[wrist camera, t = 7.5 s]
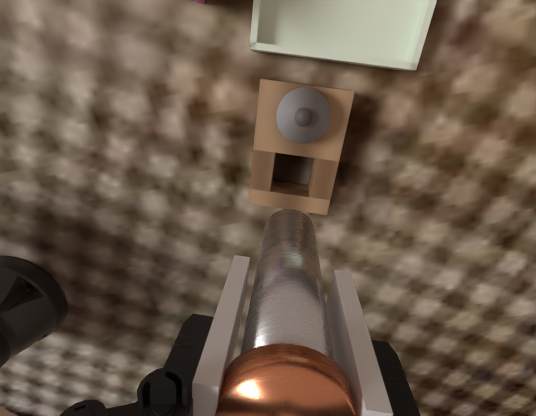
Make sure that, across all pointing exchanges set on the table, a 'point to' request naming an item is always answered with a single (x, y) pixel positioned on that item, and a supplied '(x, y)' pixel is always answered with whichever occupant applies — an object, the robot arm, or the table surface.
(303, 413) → the pin
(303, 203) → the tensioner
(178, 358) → the robot arm
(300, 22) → the tray
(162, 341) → the table surface
